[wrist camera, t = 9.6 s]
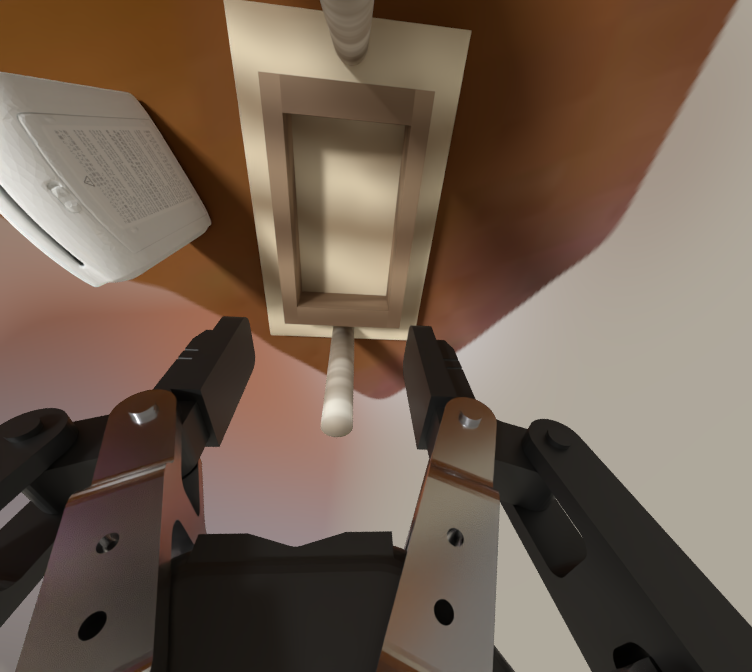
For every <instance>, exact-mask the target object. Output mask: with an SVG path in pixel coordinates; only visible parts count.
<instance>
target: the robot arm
mask: <svg viewBox="0 0 752 672" xmlns="http://www.w3.org/2000/svg"><path fill="white" fill-rule="evenodd" d="M254 364H255V351H254V346H253V340H252V334H251V329H250V323H249V320H248V318H246V317H228V316H224V317H222V318H221V319H220V321H219V322H218V323H217V325H216V326H215V328H214V329H213V330H206V331H204V332H202V333H201V334H199V335H198V336H196V337H195V338H193V339H192V341H191V342H190V343H189V344H188V346H187V347H186V348H185V351H183V352H182V353H181V354H180V356H179V358H178V359H177V360H176V361H175V362H174V363H173V365H172V366H171V367H170V368H169V370H168V371H167V372H166V374H165V375H164V376H163V377H162V378H161V380H160V381H159V382H158V384H157V385H156V386H155V387H154V389H153V390H147V391H143V392H140V393H137V394H134V395H132V396H130V397H128V398H126V399H125V400H124V401H122V402H120V403H119V404H118V405H117V406H116V407H115V408H114V409H113V410H112V412H111V413H110V414H109V415H105V416H100V417H95V418H90V419H85V420H80V421H75V422H72V420H71V419H70V418H69V416H68V415H67V414H66V413H65V411H63V410H61V409H56V408H45V409H39V410H34V411H30V412H27V413H24V414H22V415H19V416H17V417H14V418H12V419H10V420H8V421H7V422H5V423H3V424H1V425H0V510H2V508H4V507H5V506H6V505H7V504H8V503H9V502H10V501H12V500H13V499H14V498H15V497H16V496H17V495H18V494H19V493H21V492H22V493H23V494H24V495H25V496H26V497H27V498H28V499H29V500H31V501H30V502H29V503H28V504H27V505H26V506H25V507H24V508H23V509H22V510H20V511H19V512H18V514H16V515H15V516H14V517H13V518H12V519H11V520H10V521H9V522H8V523H7V524H6V525H5V526H4V527H3V528H1V530H0V627H1V626H2V625H3V624H4V623H5V621H6V620H7V619H8V618H9V617H10V615H11V614H12V613H13V612H14V611H15V610H16V608H17V607H18V606H19V605H20V604H21V603H22V601H23V600H24V599H25V598H26V597H27V595H28V594H29V593H30V592H31V591H32V590H33V588H34V587H35V586H36V585H37V584H38V582H39V581H40V580H41V579H42V578H43V576H44V578H43V582H42V585H41V588H40V591H39V594H38V598H37V601H36V604H35V608H34V611H33V614H32V617H31V621H30V624H29V627H28V631H27V634H26V637H25V641H24V644H23V647H22V650H21V654H20V657H19V660H18V663H17V667H16V670H15V672H515V671H514V670H513V669H512V668H511V666H510V665H509V664H508V663H507V661H506V660H505V658H504V657H503V656H502V655H501V653H500V652H499V651H498V649H497V648H496V647H495V646H494V625H495V624H494V623H495V602H496V601H495V600H496V579H497V556H498V532H499V508H500V502H501V504H502V506H503V508H504V510H505V512H506V514H507V515H508V517H509V519H510V521H511V523H512V525H513V527H514V528H515V530H516V532H517V534H518V536H519V538H520V540H521V541H522V543H523V545H524V547H525V549H526V550H527V553H528V554H529V556H530V558H531V560H532V562H533V563H534V565H535V567H536V569H537V571H538V573H539V575H540V577H541V578H542V580H543V582H544V584H545V586H546V588H547V590H548V591H549V593H550V595H551V597H552V599H553V601H554V602H555V604H556V606H557V608H558V610H559V612H560V614H561V615H562V617H563V619H564V621H565V623H566V625H567V627H568V628H569V630H570V632H571V634H572V636H573V638H574V640H575V641H576V643H577V645H578V647H579V649H580V650H581V653H582V654H583V656H584V658H585V660H586V662H587V664H588V665H589V667H590V669H591V671H592V672H752V627H751V626H750V625H749V624H748V622H747V621H746V620H745V619H744V618H743V617H742V616H741V615H740V613H739V612H738V611H737V610H736V609H735V608H734V607H733V606H732V605H731V604H730V602H729V601H728V600H727V599H726V598H725V597H724V596H723V595H722V594H721V592H720V591H719V590H718V589H717V588H716V587H715V586H714V585H713V584H712V583H711V581H710V580H709V579H708V578H707V577H706V576H705V575H704V574H703V573H702V571H701V570H700V569H699V568H698V567H697V566H696V565H695V564H694V563H693V562H692V561H691V559H690V558H689V557H688V556H687V555H686V554H685V553H684V552H683V551H682V550H681V548H680V547H679V546H678V545H677V544H676V543H675V542H674V541H673V539H672V538H671V537H670V536H669V535H668V534H667V533H666V532H665V531H664V530H663V528H662V527H661V526H660V525H659V524H658V523H657V522H656V521H655V520H654V518H653V517H652V516H651V515H650V514H649V513H648V512H647V511H646V510H645V508H644V507H643V506H642V505H641V504H640V503H639V502H638V501H637V500H636V499H635V497H634V496H633V495H632V494H631V493H630V492H629V491H628V490H627V489H626V487H624V485H623V484H622V483H621V482H620V481H619V480H618V479H617V478H616V477H615V475H614V474H613V473H612V472H611V471H610V470H609V469H608V468H607V466H606V465H605V464H604V463H603V462H602V461H601V460H600V459H599V458H598V457H597V456H596V454H595V453H594V452H593V451H592V450H591V449H590V448H589V447H588V446H587V444H586V443H585V442H584V441H583V440H582V439H581V438H580V437H579V436H578V435H577V434H576V433H575V432H574V431H573V430H571V429H570V428H568V427H567V426H565V425H563V424H561V423H559V422H556V421H553V420H549V419H538V420H535V421H533V422H532V423H531V425H530V426H529V428H528V429H525V428H522V427H518V426H515V425H511V424H508V423H504V422H501V421H499V420H497V419H496V418H495V415H494V414H493V412H492V411H491V410H490V409H489V408H488V407H487V406H486V405H484V404H483V403H481V402H480V401H478V400H476V399H475V397H474V395H473V392H472V390H471V388H470V386H469V383H468V381H467V379H466V376H465V374H464V372H463V370H462V367H461V365H460V363H459V361H458V358H457V355H456V353H455V351H454V349H453V348H452V347H451V346H450V345H449V344H448V343H447V342H446V341H445V340H436V338H435V335H434V333H433V330H432V327H431V326H415V325H411V326H410V327H409V331H408V337H407V342H406V348H405V354H404V360H403V375H404V380H405V386H406V391H407V397H408V402H409V407H410V413H411V419H412V424H413V430H414V435H415V440H416V446H417V449H426V450H428V455H429V461H428V465H427V468H426V472H425V476H424V480H423V483H422V486H421V490H420V494H419V497H418V501H417V505H416V508H415V512H414V516H413V520H412V523H411V527H410V530H409V533H408V537H407V540H406V544H405V547H404V549H402V548H399V547H396V546H393V542H392V532H345V533H342V534H339V535H335V536H332V537H329V538H325V539H322V540H319V541H315V542H312V543H309V544H306V545H303V546H298V547H293V546H288V545H285V544H281V543H278V542H275V541H271V540H268V539H264V538H261V537H258V536H255V535H251V534H207V532H206V527H205V516H204V494H203V472H202V461H201V459H200V456H201V454H202V452H203V450H204V447H219V446H220V444H221V442H222V440H223V437H224V435H225V433H226V430H227V428H228V426H229V424H230V421H231V419H232V417H233V415H234V412H235V410H236V407H237V405H238V403H239V401H240V399H241V396H242V394H243V392H244V389H245V387H246V385H247V382H248V380H249V378H250V375H251V373H252V371H253V368H254ZM555 498H556V499H557V500H556V499H555ZM557 501H558V502H559V503H558V502H557ZM559 504H560V505H561V506H562V507H561V506H560V505H559ZM562 508H563V509H564V510H563V509H562ZM564 511H565V512H566V513H565V512H564ZM566 514H567V515H568V516H569V518H570V519H571V520H570V519H569V518H568V516H567V515H566ZM571 521H572V522H573V523H572V522H571ZM573 524H574V525H575V526H574V525H573ZM575 527H576V528H577V529H578V531H579V532H580V534H581V535H580V534H579V532H578V531H577V529H576V528H575ZM581 536H582V537H583V538H582V537H581Z"/></svg>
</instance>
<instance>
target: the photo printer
mask: <svg viewBox="0 0 752 672" xmlns="http://www.w3.org/2000/svg"><path fill="white" fill-rule="evenodd" d="M0 214H1V215H2V216H3V217H4V218H6V219H7V220H8V221H9V222H10V223H11V224H12V225H13V226H14V227H15V228H16V229H17V230H18V231H19V232H20V233H22V234H23V235H24V236H25V237H26V238H27V239H28V240H29V241H30V242H31V243H33V244H34V245H35V246H36V247H38V248H39V249H40V250H41V251H42V252H43V253H45V254H46V255H48V257H50V258H51V259H52V260H54V261H55V262H56V263H58V264H59V265H60V266H62V267H63V268H65V269H66V270H67V271H69V272H70V273H72V274H73V275H75V276H76V277H78V278H79V279H81V280H83V281H84V282H86V283H88V284H90V285H92V286H94V287H99V286H102V285H104V284H106V283H108V282H123V281H127V280H130V279H133V278H135V277H137V276H139V275H141V274H142V273H144V272H145V271H147V270H149V269H150V268H152V267H153V266H155V265H156V264H158V263H159V262H161V261H162V260H164V259H165V258H167V257H168V256H170V255H171V254H173V253H175V252H176V251H178V250H179V249H181V248H182V247H184V246H185V245H187V244H188V243H190V242H192V241H193V240H195V239H196V238H198V237H199V236H201V235H202V234H203V233H205V231H206V230H207V228H208V227H209V226H210V225H211V220H210V217H209V215H208V213H207V211H206V209H205V207H204V205H203V203H202V201H201V200H200V198H199V196H198V194H197V193H196V191H195V189H194V188H193V186H192V184H191V183H190V181H189V179H188V177H187V176H186V174H185V173H184V171H183V169H182V168H181V166H180V164H179V163H178V161H177V159H176V158H175V156H174V154H173V153H172V151H171V150H170V148H169V146H168V145H167V143H166V141H165V140H164V138H163V136H162V135H161V133H160V132H159V130H158V129H157V127H156V126H155V124H154V123H153V121H152V120H151V118H150V117H149V115H148V114H147V112H146V111H145V109H144V108H143V107H142V105H141V104H140V103H139V101H138V100H137V99H136V98H135V97H134V96H133V95H132V94H130V93H127V92H122V91H115V90H108V89H102V88H96V87H90V86H84V85H78V84H71V83H65V82H59V81H53V80H48V79H41V78H35V77H30V76H23V75H17V74H11V73H5V72H0Z"/></svg>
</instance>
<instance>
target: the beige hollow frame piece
mask: <svg viewBox="0 0 752 672" xmlns="http://www.w3.org/2000/svg"><path fill="white" fill-rule="evenodd" d="M320 2H321V6H322V9H323V11H319V10H312V9H304V8H296V7H289V6H281V5H274V4H266V3H259V2H251V1H243V0H224V7H225V14H226V21H227V28H228V35H229V42H230V49H231V56H232V63H233V70H234V78H235V85H236V92H237V99H238V106H239V113H240V120H241V127H242V134H243V141H244V148H245V156H246V163H247V170H248V177H249V184H250V191H251V198H252V205H253V212H254V219H255V226H256V233H257V241H258V248H259V255H260V262H261V269H262V276H263V283H264V290H265V297H266V304H267V311H268V319H269V326H270V333H271V335H287V336H313V337H332V340H331V348H330V356H329V364H328V372H327V380H326V388H325V397H324V405H323V412H322V420H321V430H322V431H323V432H324V433H325V434H326V435H328V436H332V437H342V436H345V435H347V434H349V433H350V432H351V431H352V427H353V376H354V338H364V339H389V340H407V337H408V331H409V327H410V326H411V325H415V326H416V323H417V318H418V313H419V307H420V302H421V297H422V291H423V286H424V281H425V275H426V270H427V265H428V259H429V254H430V249H431V243H432V238H433V233H434V228H435V222H436V217H437V212H438V206H439V201H440V196H441V190H442V185H443V180H444V174H445V169H446V164H447V158H448V153H449V148H450V142H451V137H452V132H453V126H454V121H455V116H456V110H457V105H458V100H459V94H460V89H461V84H462V78H463V73H464V68H465V62H466V57H467V52H468V47H469V41H470V36H471V30H463V29H456V28H448V27H441V26H433V25H425V24H418V23H410V22H403V21H395V20H388V19H380V18H372V14H373V6H374V0H320Z"/></svg>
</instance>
